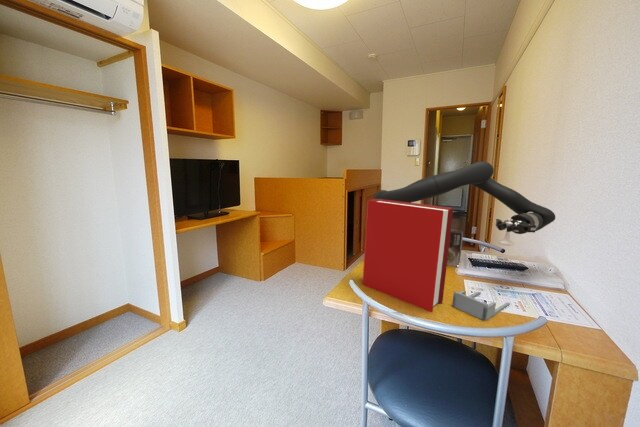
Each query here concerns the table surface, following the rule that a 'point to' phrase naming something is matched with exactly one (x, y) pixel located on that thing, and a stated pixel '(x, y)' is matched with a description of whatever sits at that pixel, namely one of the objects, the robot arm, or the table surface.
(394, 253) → the book
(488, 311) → the chute
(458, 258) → the coffee box
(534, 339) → the table surface
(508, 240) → the chess piece
